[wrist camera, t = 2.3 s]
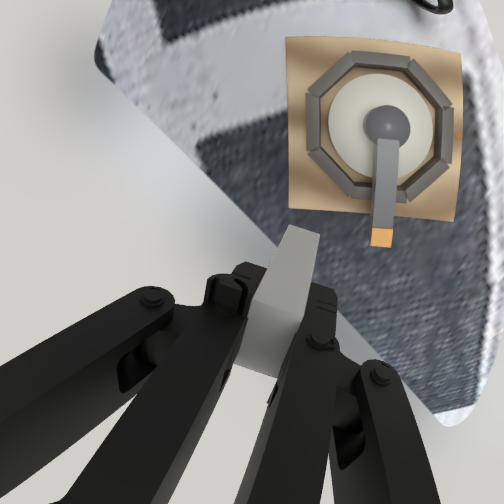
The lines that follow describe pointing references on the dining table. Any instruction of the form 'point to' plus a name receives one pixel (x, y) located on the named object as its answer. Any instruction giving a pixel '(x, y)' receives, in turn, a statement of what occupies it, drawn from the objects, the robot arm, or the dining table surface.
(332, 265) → the dining table surface
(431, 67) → the dial board
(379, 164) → the dial
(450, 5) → the mug
